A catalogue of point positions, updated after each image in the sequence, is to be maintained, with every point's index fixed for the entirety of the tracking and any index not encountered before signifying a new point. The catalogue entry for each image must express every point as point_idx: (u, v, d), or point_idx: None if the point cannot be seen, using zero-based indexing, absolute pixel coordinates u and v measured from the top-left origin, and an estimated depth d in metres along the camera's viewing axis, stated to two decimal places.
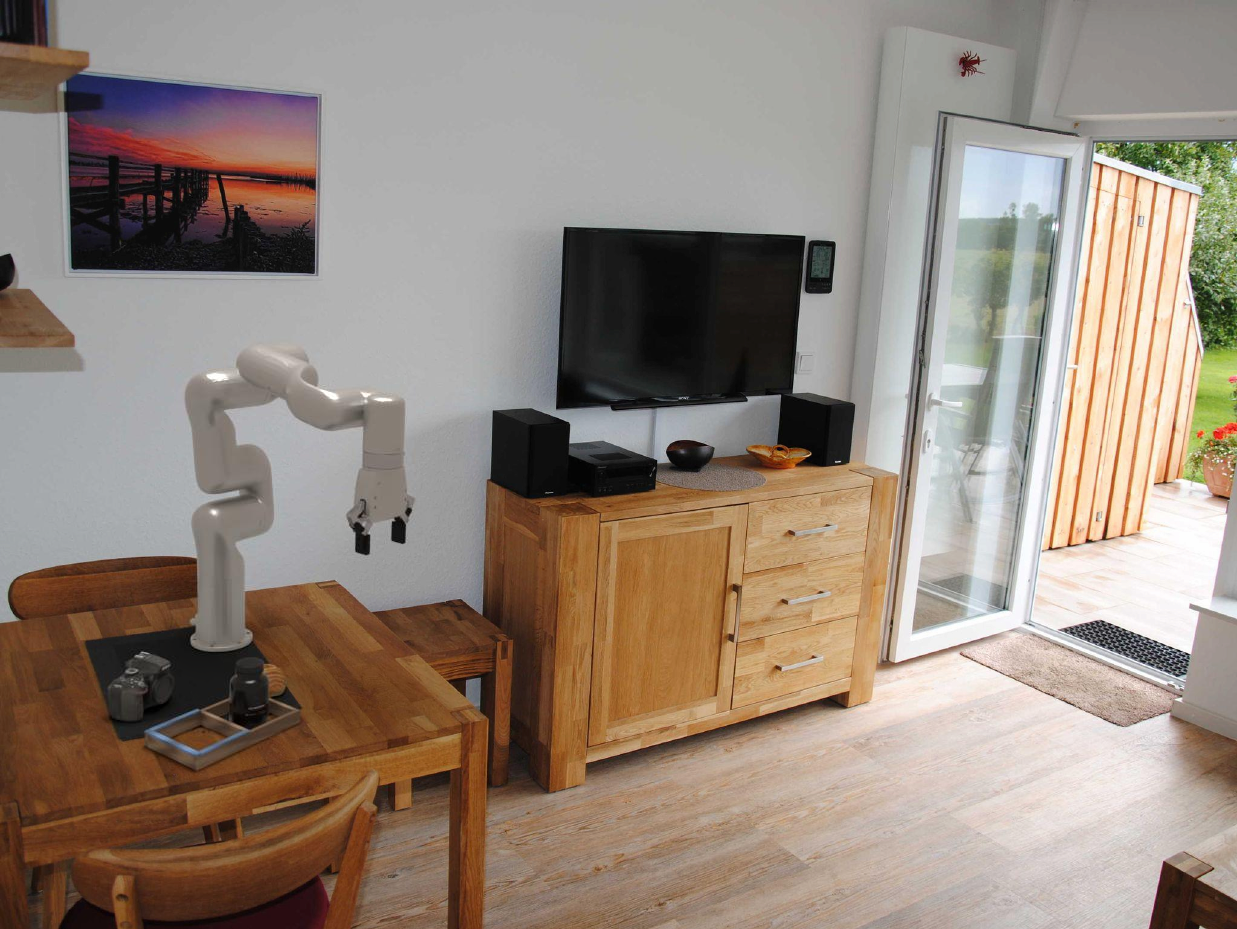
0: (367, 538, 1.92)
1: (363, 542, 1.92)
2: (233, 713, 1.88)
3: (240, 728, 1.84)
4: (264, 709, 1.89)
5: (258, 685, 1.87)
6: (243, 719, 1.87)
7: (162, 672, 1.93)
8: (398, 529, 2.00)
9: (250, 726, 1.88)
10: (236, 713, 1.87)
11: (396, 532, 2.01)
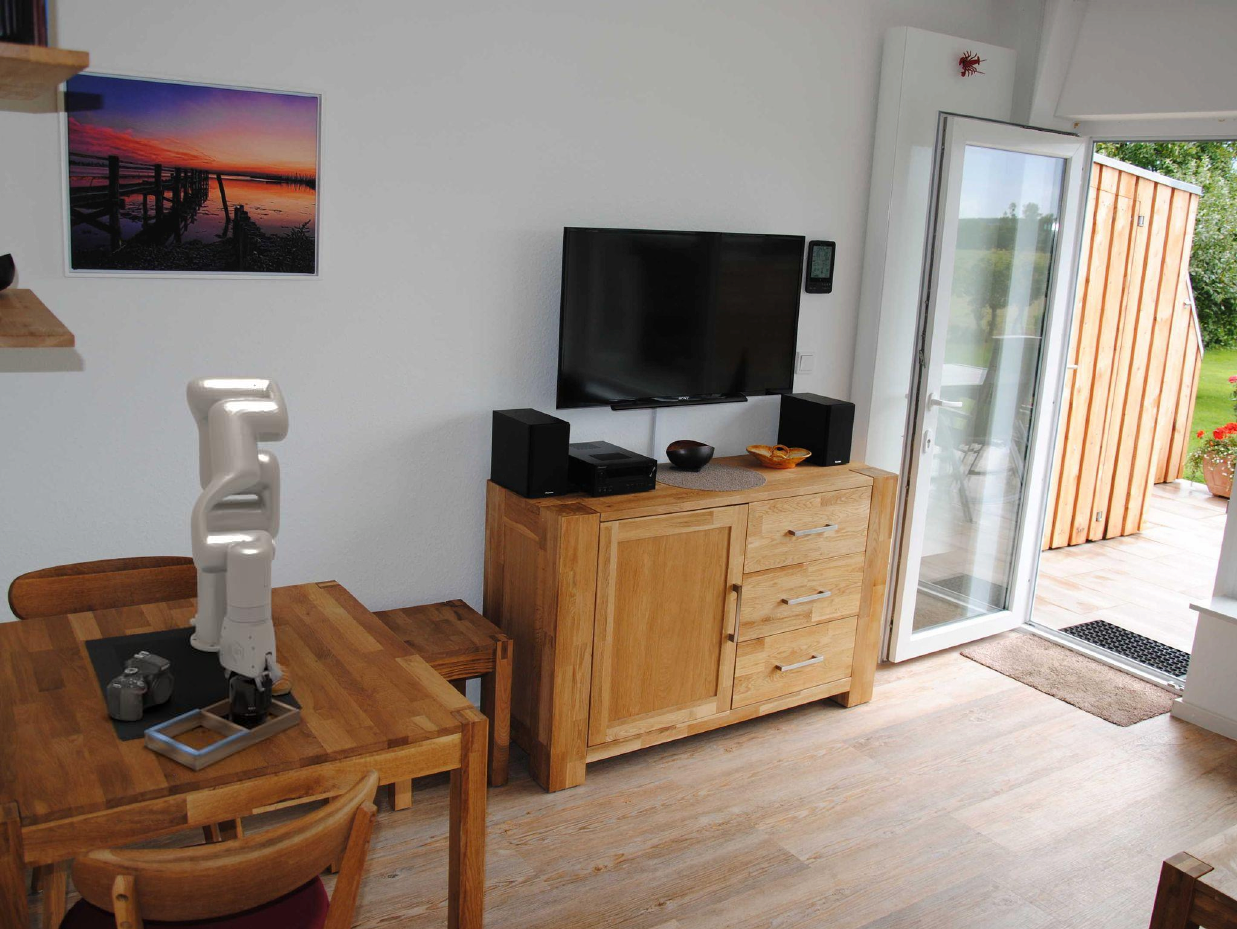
0: (270, 689, 1.89)
1: None
2: (233, 713, 1.88)
3: (240, 728, 1.84)
4: (264, 709, 1.89)
5: None
6: (243, 719, 1.87)
7: (161, 672, 1.94)
8: None
9: (250, 726, 1.88)
10: (236, 712, 1.87)
11: None
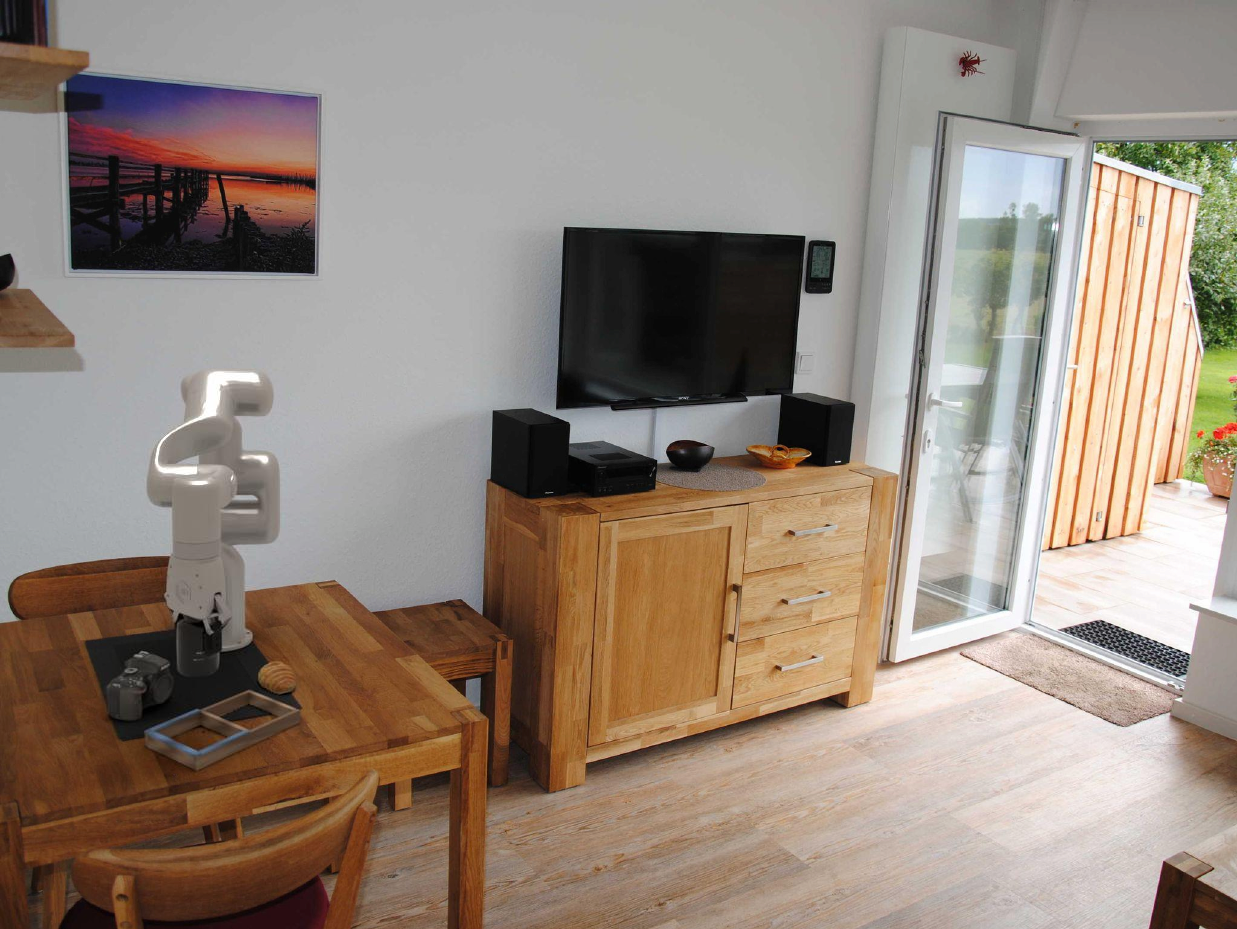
0: (221, 633, 1.77)
1: None
2: (180, 658, 1.75)
3: (240, 728, 1.84)
4: (213, 654, 1.77)
5: None
6: (190, 665, 1.75)
7: (161, 672, 1.94)
8: None
9: (198, 672, 1.76)
10: (184, 657, 1.75)
11: None
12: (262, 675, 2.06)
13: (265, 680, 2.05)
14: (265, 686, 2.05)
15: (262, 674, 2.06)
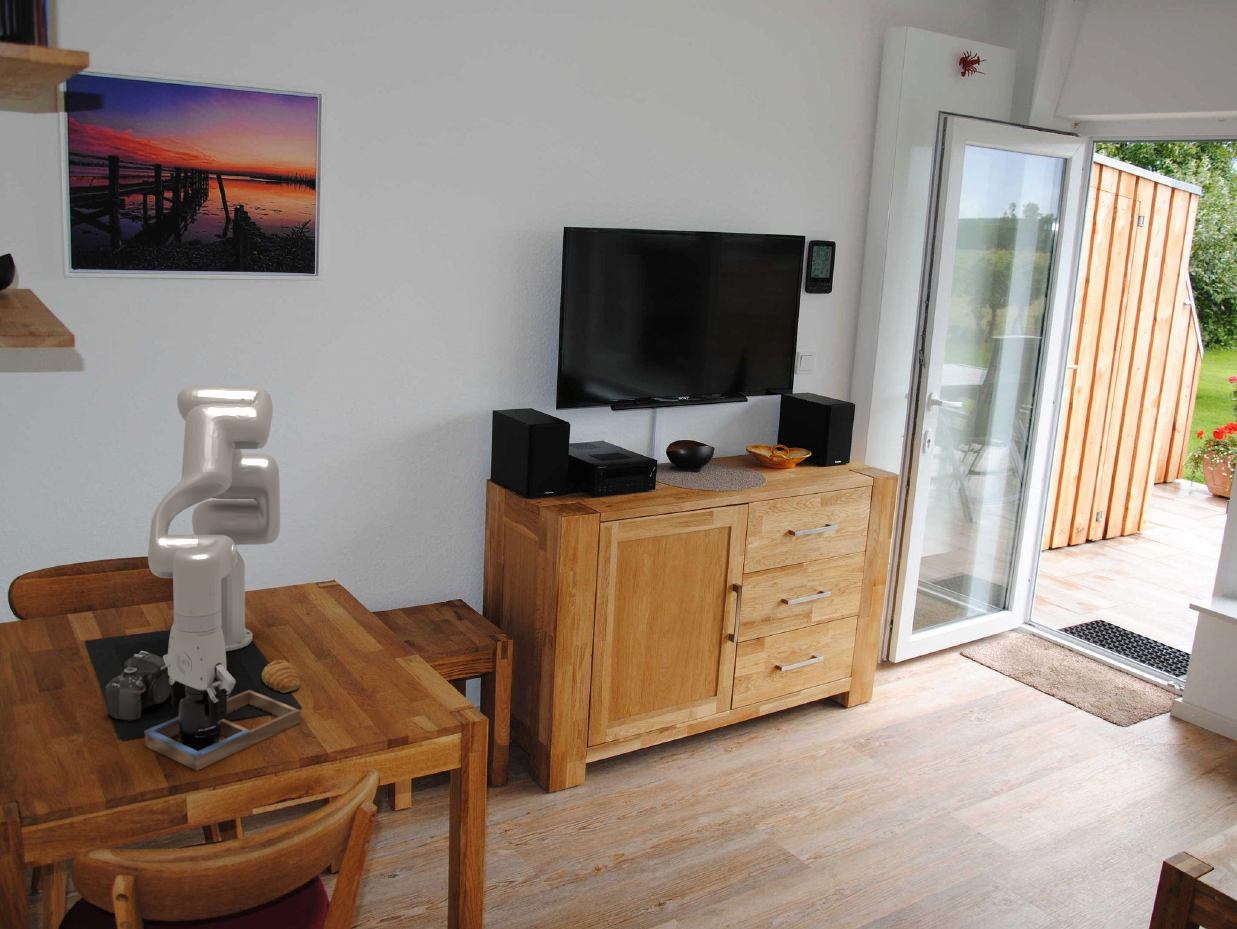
0: (225, 700, 1.79)
1: None
2: (182, 735, 1.79)
3: (240, 728, 1.84)
4: (215, 731, 1.80)
5: (208, 705, 1.78)
6: (192, 741, 1.78)
7: (161, 671, 1.94)
8: (183, 689, 1.82)
9: (200, 748, 1.79)
10: (186, 734, 1.78)
11: (181, 694, 1.82)
12: (266, 674, 2.07)
13: (269, 679, 2.05)
14: (269, 685, 2.05)
15: (266, 673, 2.07)
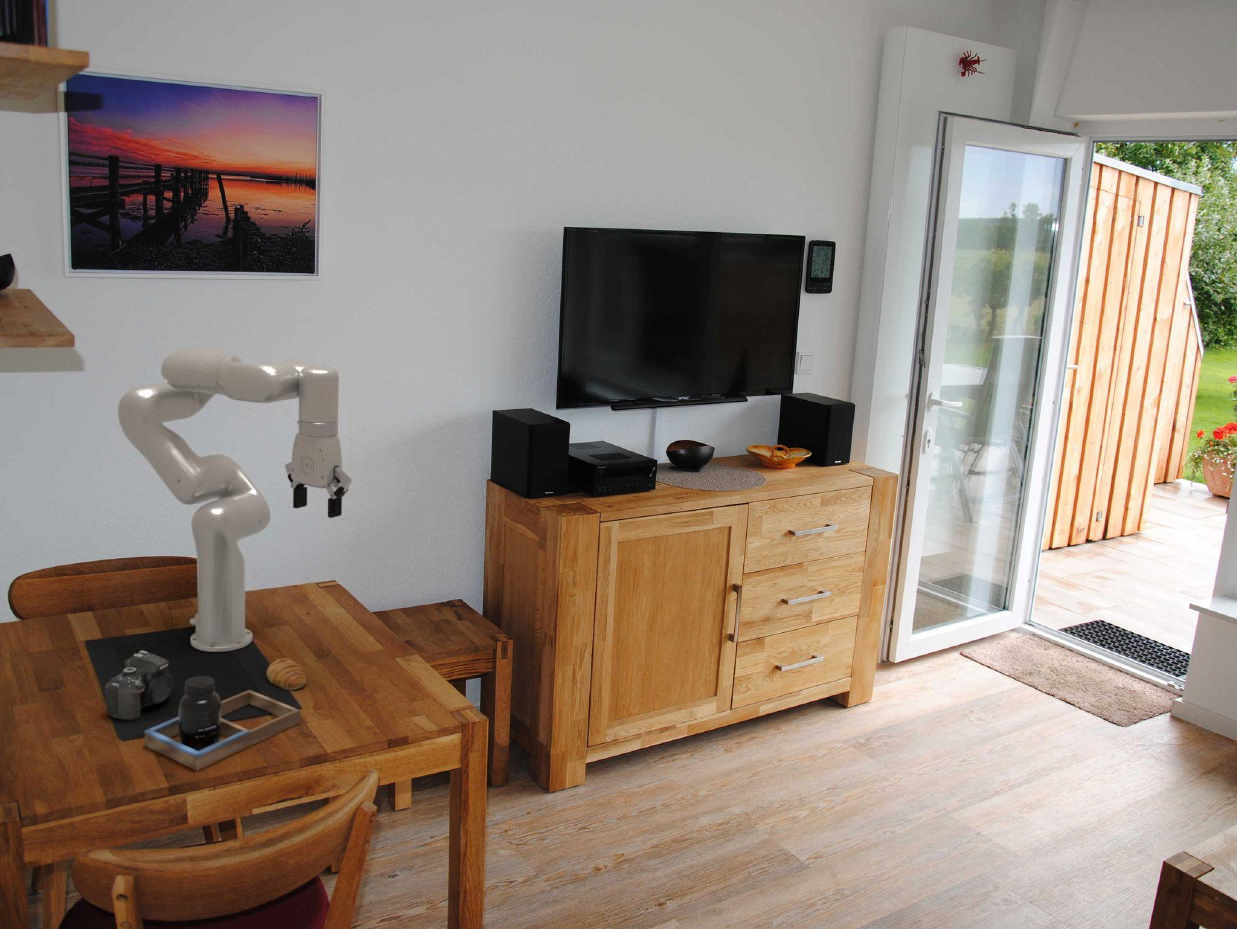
0: (341, 499, 2.09)
1: None
2: (182, 735, 1.79)
3: (240, 728, 1.84)
4: (215, 731, 1.80)
5: (208, 705, 1.78)
6: (192, 742, 1.78)
7: (160, 671, 1.94)
8: (302, 494, 2.12)
9: (200, 748, 1.79)
10: (186, 734, 1.78)
11: (301, 497, 2.12)
12: (271, 672, 2.08)
13: (276, 677, 2.06)
14: (276, 683, 2.06)
15: (271, 671, 2.08)
